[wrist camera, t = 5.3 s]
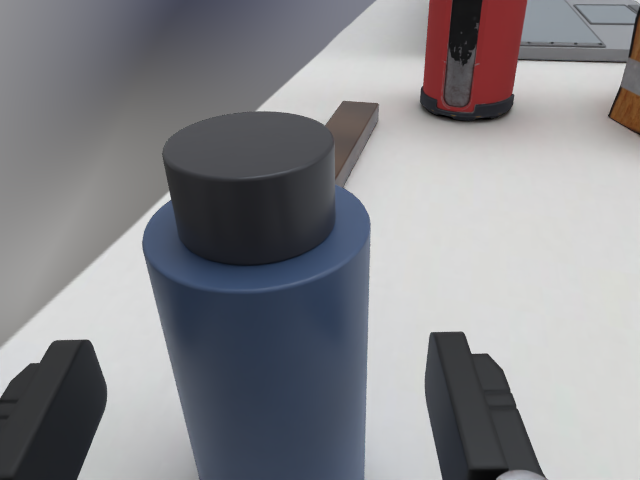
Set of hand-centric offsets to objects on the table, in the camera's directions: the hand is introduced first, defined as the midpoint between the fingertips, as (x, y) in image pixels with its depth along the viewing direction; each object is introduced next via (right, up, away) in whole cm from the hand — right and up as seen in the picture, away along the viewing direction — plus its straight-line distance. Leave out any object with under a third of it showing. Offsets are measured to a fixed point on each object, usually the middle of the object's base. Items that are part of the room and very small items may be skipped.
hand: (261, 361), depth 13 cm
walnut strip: (+2, +8, +25) cm, 26 cm away
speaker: (+14, +14, +34) cm, 40 cm away
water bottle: (0, -5, +5) cm, 7 cm away
